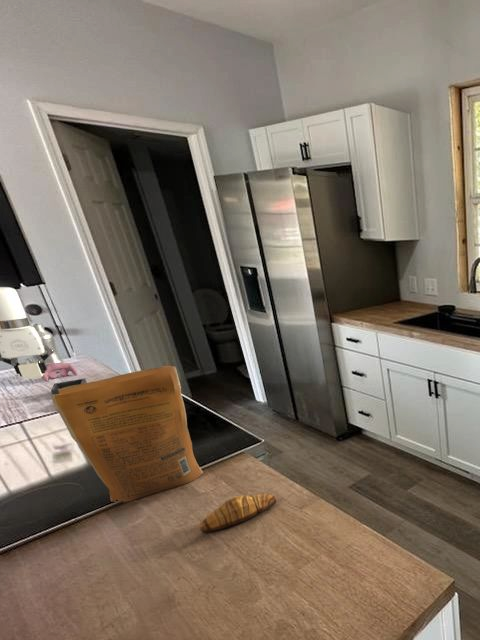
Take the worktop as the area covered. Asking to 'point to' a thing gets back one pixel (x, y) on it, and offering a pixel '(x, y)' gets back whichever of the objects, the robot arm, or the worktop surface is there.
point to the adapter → (66, 385)
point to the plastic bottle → (48, 344)
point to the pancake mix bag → (132, 431)
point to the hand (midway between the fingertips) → (33, 373)
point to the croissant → (237, 511)
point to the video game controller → (61, 366)
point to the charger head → (30, 369)
